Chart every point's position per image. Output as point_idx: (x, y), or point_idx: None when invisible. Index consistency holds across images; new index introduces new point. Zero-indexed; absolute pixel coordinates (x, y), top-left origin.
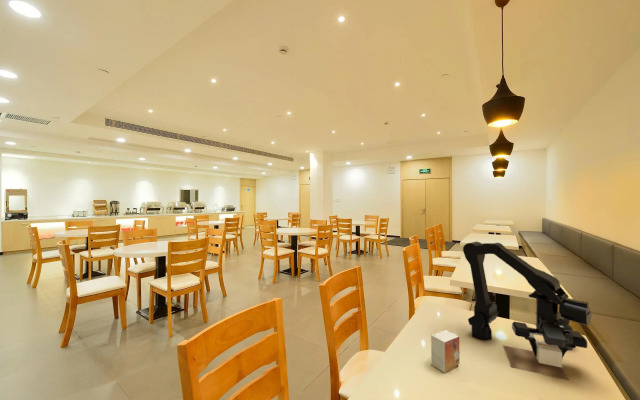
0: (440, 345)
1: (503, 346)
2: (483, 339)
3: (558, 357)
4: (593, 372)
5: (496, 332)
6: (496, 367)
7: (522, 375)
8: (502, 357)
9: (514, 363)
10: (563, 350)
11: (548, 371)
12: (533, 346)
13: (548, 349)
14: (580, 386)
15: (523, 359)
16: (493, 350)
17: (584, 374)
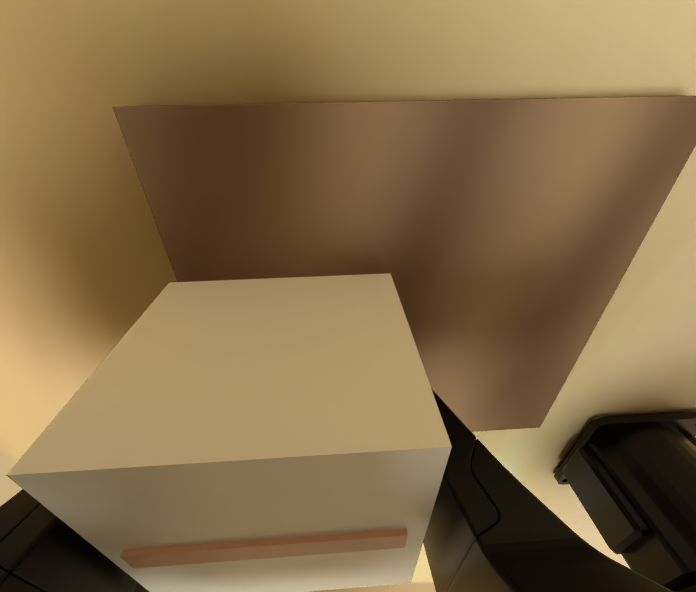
0: None
1: (544, 417)
2: (649, 438)
3: (146, 366)
4: (3, 375)
5: None
6: None
7: (613, 22)
8: (611, 299)
9: (616, 206)
10: (17, 528)
11: (313, 201)
12: (478, 464)
13: (267, 471)
14: (31, 89)
15: (477, 315)
16: (621, 361)
17: (47, 327)
